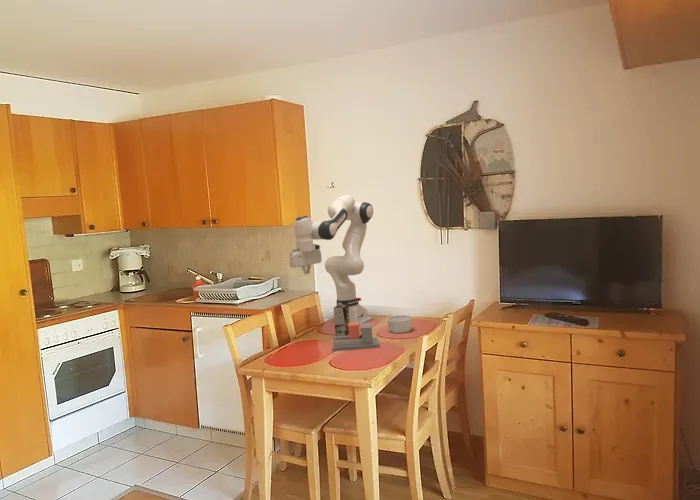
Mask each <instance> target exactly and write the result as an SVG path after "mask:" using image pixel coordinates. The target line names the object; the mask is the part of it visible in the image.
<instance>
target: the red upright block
mask: <svg viewBox="0 0 700 500" xmlns="http://www.w3.org/2000/svg"><path fill="white" fill-rule="evenodd" d="M348 327H349V340H351V339H360V335H361V333H360V324H359V323H358V322H355V323H348Z"/></svg>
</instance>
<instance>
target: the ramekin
mask: <svg viewBox="0 0 700 500" xmlns="http://www.w3.org/2000/svg"><path fill="white" fill-rule="evenodd" d="M387 324H388V329H389V331H390V333H394V334H404V333H405V332H406V333H409V332H410V331H411V330H412V328H413V327H412V325H413V316H410V315H406V314H405V315H404V314H402V315H393V316H388V317H387Z"/></svg>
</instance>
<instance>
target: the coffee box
mask: <svg viewBox="0 0 700 500" xmlns="http://www.w3.org/2000/svg"><path fill="white" fill-rule="evenodd" d="M333 318H334V319H333V320H334V321H333V322H334V333H335V335H334V336H335V337H339V336H349V327H348V323H350V320H349V308H348V305H337V304H336V306H334V307H333Z"/></svg>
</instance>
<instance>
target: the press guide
mask: <svg viewBox="0 0 700 500" xmlns="http://www.w3.org/2000/svg"><path fill="white" fill-rule="evenodd" d="M359 326H360V339H351V340H349V336H339V337H336V336H333V337H332V348H333V349H332V351H333V352H339V351H341V352H342V351H351V350H362V349H375V348H377V349H378V348H380V347H381V346H380V341H379V337H377V336H374V337H373V327H372V324H371V322H364V323H361V324H359Z"/></svg>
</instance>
